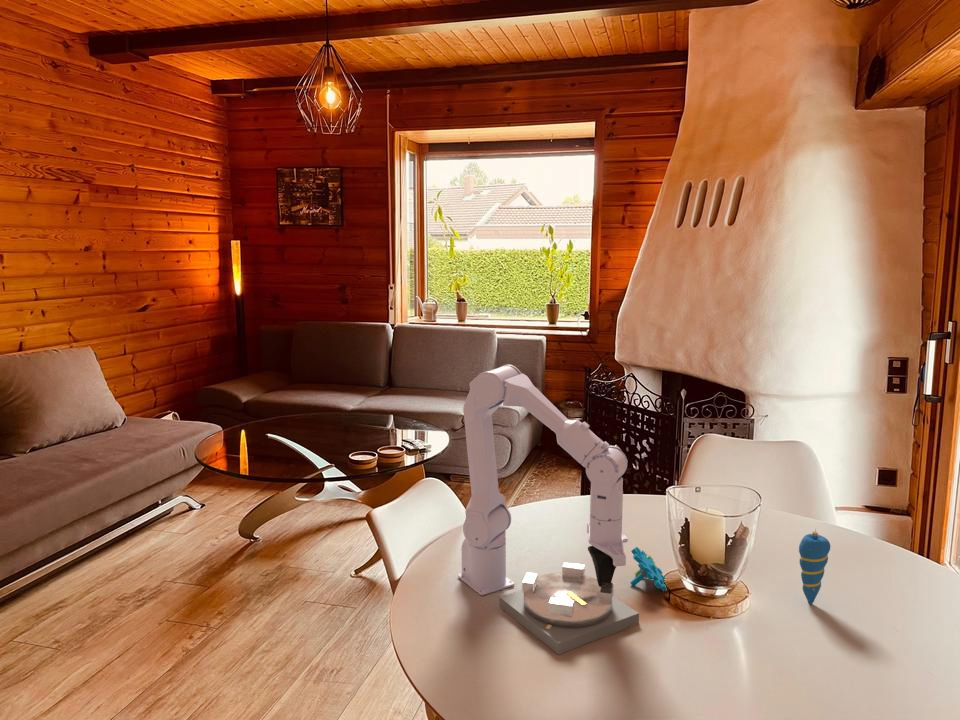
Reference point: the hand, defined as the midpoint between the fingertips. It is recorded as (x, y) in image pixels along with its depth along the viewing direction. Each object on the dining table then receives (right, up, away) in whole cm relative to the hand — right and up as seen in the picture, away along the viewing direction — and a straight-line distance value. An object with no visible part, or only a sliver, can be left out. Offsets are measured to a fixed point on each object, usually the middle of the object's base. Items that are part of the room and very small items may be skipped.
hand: (604, 585), depth 125 cm
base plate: (-7, -5, 0) cm, 9 cm away
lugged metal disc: (-7, -3, 0) cm, 7 cm away
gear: (+11, -4, +11) cm, 16 cm away
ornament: (+39, -5, +3) cm, 40 cm away
